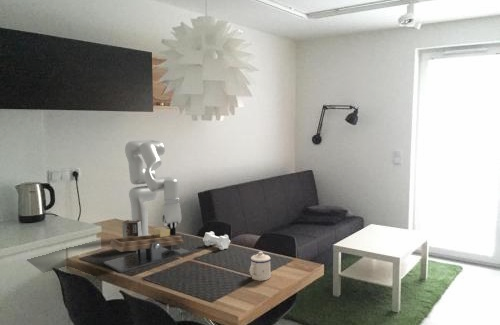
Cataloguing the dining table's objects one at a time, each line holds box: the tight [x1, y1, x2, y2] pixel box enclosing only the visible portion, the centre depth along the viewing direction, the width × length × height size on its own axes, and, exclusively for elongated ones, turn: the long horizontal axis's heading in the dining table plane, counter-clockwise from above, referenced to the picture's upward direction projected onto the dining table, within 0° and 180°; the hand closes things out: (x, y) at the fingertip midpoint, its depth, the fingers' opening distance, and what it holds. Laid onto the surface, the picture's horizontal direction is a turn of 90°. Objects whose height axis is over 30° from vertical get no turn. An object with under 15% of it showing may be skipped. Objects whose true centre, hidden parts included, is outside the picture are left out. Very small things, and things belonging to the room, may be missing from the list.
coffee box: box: [121, 219, 142, 252], centre depth 226 cm, size 9×6×16 cm
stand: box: [103, 241, 191, 274], centre depth 210 cm, size 19×40×10 cm, turn 134°
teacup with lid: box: [249, 251, 272, 282], centre depth 181 cm, size 12×9×12 cm
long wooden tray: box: [109, 234, 184, 253], centre depth 210 cm, size 36×12×7 cm, turn 134°
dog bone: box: [202, 231, 231, 251], centre depth 228 cm, size 15×9×8 cm, turn 48°
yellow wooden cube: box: [153, 226, 170, 239], centre depth 216 cm, size 6×6×6 cm
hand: (172, 234), depth 220 cm, fingers closed
